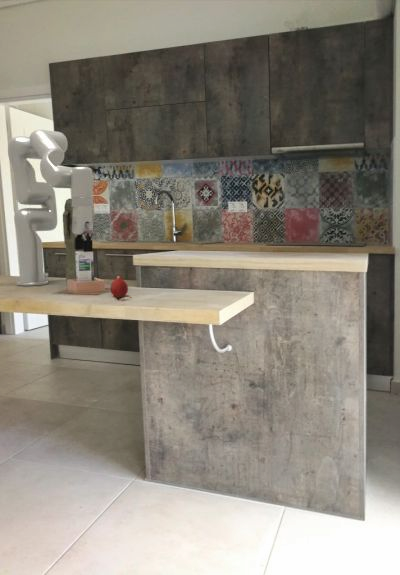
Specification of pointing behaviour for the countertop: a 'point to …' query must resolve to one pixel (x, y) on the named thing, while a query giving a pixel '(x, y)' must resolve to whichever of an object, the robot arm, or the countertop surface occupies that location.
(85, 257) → the syrup box
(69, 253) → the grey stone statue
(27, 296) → the countertop surface
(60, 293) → the board
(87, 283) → the terracotta square tray
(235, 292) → the countertop surface
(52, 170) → the robot arm
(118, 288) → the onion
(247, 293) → the countertop surface
